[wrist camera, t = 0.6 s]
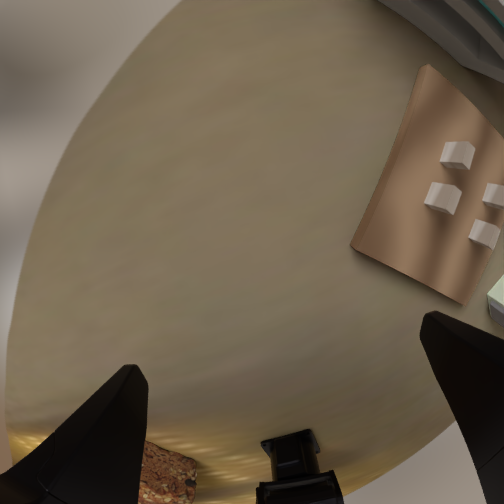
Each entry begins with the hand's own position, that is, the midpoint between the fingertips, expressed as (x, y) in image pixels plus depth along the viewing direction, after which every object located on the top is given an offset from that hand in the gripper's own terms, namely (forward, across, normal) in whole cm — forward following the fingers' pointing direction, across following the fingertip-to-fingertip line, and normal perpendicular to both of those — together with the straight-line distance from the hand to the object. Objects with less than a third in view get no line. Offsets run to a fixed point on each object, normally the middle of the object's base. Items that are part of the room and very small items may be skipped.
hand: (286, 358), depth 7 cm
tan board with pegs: (+14, -19, 0) cm, 24 cm away
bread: (+11, +22, +34) cm, 43 cm away
